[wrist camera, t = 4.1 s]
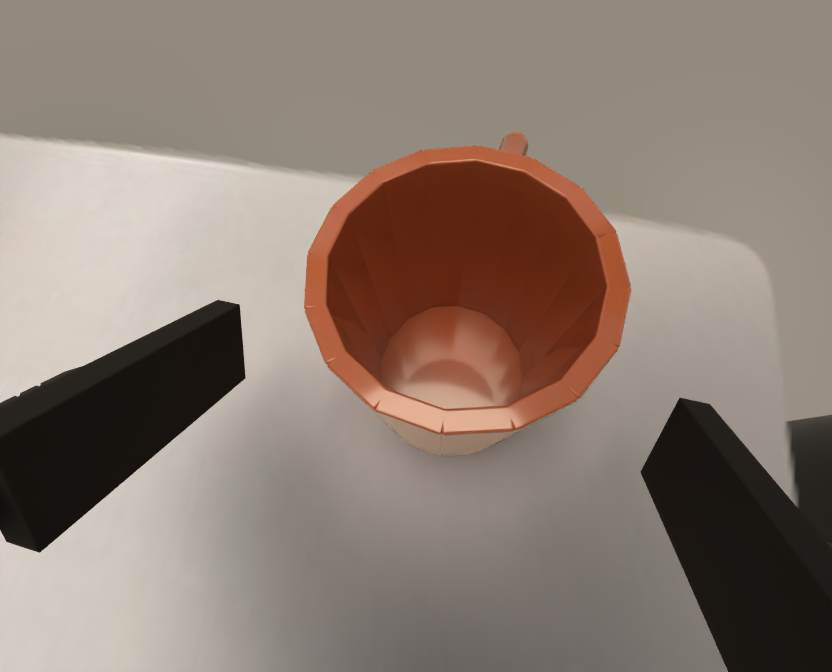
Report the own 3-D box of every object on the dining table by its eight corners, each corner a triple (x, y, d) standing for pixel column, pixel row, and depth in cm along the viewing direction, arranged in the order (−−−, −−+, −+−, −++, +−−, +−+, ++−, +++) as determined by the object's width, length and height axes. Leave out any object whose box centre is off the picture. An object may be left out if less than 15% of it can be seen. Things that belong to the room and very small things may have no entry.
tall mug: (506, 481, 18) (591, 490, 8) (347, 421, 20) (248, 365, 9) (559, 280, 22) (668, 107, 12) (421, 241, 23) (407, 56, 13)
